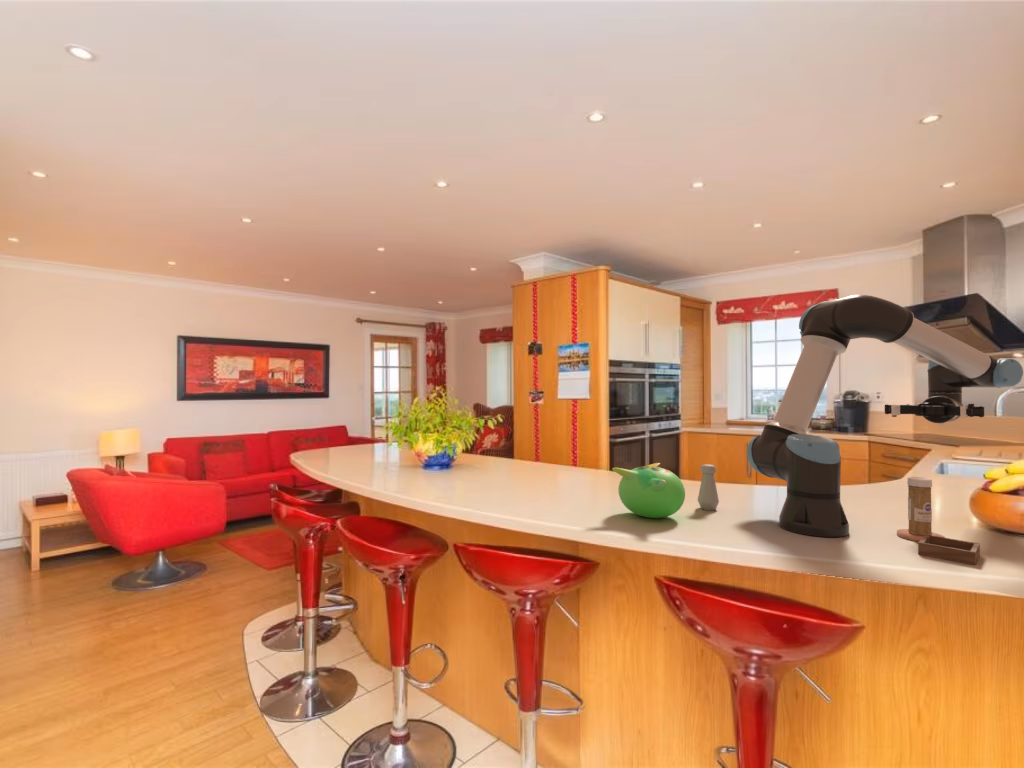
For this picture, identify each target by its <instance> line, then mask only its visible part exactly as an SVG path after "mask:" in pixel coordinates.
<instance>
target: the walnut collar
mask: <svg viewBox="0 0 1024 768" xmlns="http://www.w3.org/2000/svg"><path fill="white" fill-rule="evenodd" d="M917 544H918V545H917V546H918V547H917V548H918V549H917V550H918V551H917V553H918V555H919V556H920V555H921V556H926V557H932V558H935V559H940V560H946V561H950V562H957V563H962V564H963V563H964V564H967V565H968V564H969V565H973V566H976V564H977V563H978V561H979V558H980V556H981V543H980V542H979V543H978V542H973V541H967V540H960V539H954V538H949V537H945V538H943V537H937V536H931V535H925V536H924V537H923V538H922V539H921V540H920V541H919V542H918V541H917Z"/></svg>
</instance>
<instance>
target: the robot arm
mask: <svg viewBox="0 0 1024 768" xmlns="http://www.w3.org/2000/svg"><path fill="white" fill-rule="evenodd" d="M799 319H800V320H799V322H798V323H799V324H798V329H799V330H800V331H799V334H800V335H801V338H800V342H801V344H802V346H803V348H802V350H801V353H800V355H799V357H798V360H797V363H796V365H795V368H794V369H793V373H792V375H791V376H790V380H789V382H788V384H787V387H786V389H785V391H784V394H783V396H782V399H781V401H780V404H779V406H778V409H777V411H776V413H775V416H774V418H773V420H772V421H769V422H767V423H766V424H765V425H764V427H763V430H762V432H761V434H757V435H756V436H754V437H752V438H751V439H750V441H749V442H748V444H747V446H746V448H747V449H746V456H747V457H746V458H747V460H748V462H749V464H750V465H749V466H750V467H751V468H752V469H753V470H754V471H755V472H757V473H759V474H761V475H763V476H765V477H768V478H773V479H778V480H781V481H785V482H786V497H785V500H784V503H783V506H782V509H781V511H780V514H779V517H778V518H779V520H778V523H779V527H780V528H782V529H784V530H787V531H789V532H793V533H797V534H801V535H807V536H813V537H825V538H841V537H846V536H848V535H849V534H850V524H849V522H848V518H847V515H846V513H845V511H844V508H843V505H842V502H841V474H842V473H841V468H842V467H841V466H842V465H841V463H842V455H841V451H840V445H839V443H838V442H837V441H836V440H834V439H832V438H829V437H826V436H821V435H812V434H807V431H808V427H809V425H810V423H811V421H812V418H813V416H814V413H815V411H816V409H817V406H818V404H819V401H820V399H821V395H822V394H823V391H824V389H825V386H826V385H827V381H828V378H829V376H830V374H831V372H832V369H833V367H834V363H836V359H837V357H838V356H839V355H841V354H844V353H846V351H847V348H848V346H849V344H850V341H851V340H855V339H859V338H860V339H861V338H863V339H865V338H867V339H868V338H869V339H875V340H878V341H880V342H883V343H884V344H891V343H892V344H893V343H894V344H895V345H898V346H900V347H902V348H905V349H906V350H908V351H911V352H913V353H915V354H917V355H918V356H922V357H923V358H925V359H927V360H928V367H927V384H928V389H927V391H928V392H927V393H928V394H927V399H925V400H924V401H923V402H921V403H914V405H913V404H909V403H908V404H884V414H885V415H891V417H892V418H896V417H897V416H900V415H915V416H916V417H923V418H924V419H925V420H927V421H928V422H931V423H933V424H939V425H944V423H948V422H953V421H956V420H957V419H959V418H961V419H962V418H968V417H969V418H973V417H978V418H984V417H985V406H981V405H979V406H975V404H974V403H968V404H967V405H964V404H963V402H962V401H963V396H962V395H963V394H962V393H963V388H997V389H1000V388H1011V387H1015V386H1017V385H1018V384H1020V382H1021V381H1022V378H1023V376H1024V369H1023V366H1022V364H1021V363H1020V362H1019V361H1018V360H1017V359H1013V358H1005V357H1002V358H995V357H993V356H991V355H989V354H986V353H984V352H982V351H981V350H978V349H977V348H975V347H973V346H970V345H969V344H967V343H965V342H963V341H962V340H959V339H957V338H955V337H954V336H951V335H949V334H948V333H945V332H944V331H942V330H940V329H937V328H935V327H933V326H931V325H929V324H927V323H926V322H923V321H922V320H919V319H917V318H916V317H915V315H914V313H913V312H912V311H911V310H910V309H907V308H906V307H903V306H901V305H899V304H897V303H895V302H892V301H889V300H887V299H885V298H880V297H877V296H873V295H868V294H853V295H849V296H846V297H842V298H838V299H837V298H836V299H833V300H825V301H821V302H819V303H817V304H814V305H812V306H810V307H808V308H807V309H806V310H804V311H803V314H802V315H801V316H800V318H799ZM897 418H898V417H897Z"/></svg>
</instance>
